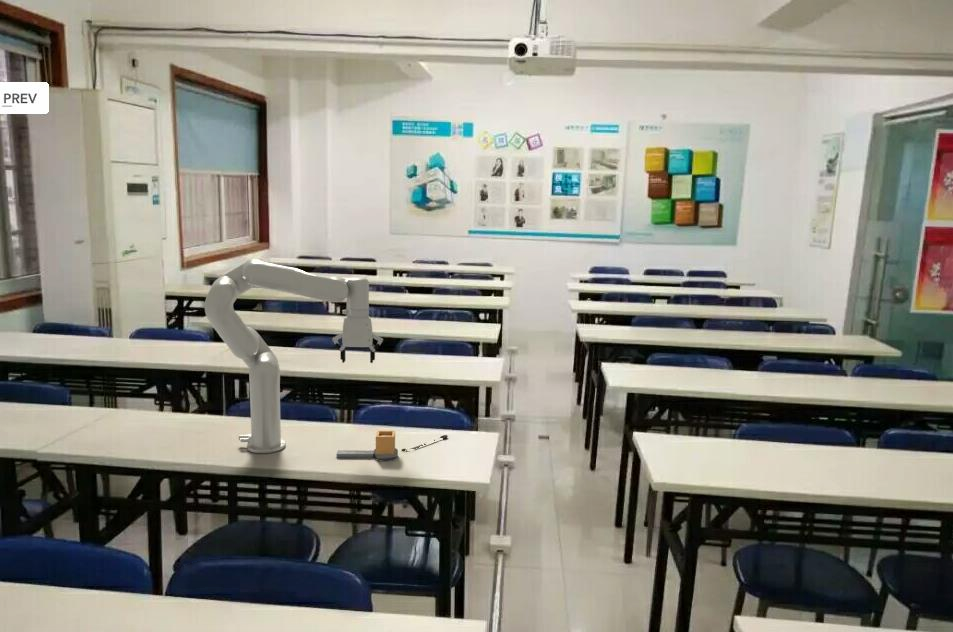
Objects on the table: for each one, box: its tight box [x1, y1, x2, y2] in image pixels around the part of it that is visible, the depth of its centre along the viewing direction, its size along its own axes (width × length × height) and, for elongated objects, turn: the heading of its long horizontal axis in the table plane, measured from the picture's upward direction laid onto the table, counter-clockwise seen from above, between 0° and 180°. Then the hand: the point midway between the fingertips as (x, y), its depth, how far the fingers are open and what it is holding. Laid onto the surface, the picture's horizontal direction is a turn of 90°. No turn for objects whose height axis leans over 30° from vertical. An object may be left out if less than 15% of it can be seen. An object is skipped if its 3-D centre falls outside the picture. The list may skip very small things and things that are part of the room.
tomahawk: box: [401, 434, 449, 452], centre depth 233 cm, size 21×7×1 cm, turn 137°
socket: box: [375, 429, 396, 454], centre depth 221 cm, size 6×6×6 cm
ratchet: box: [336, 435, 399, 462], centre depth 221 cm, size 20×8×7 cm, turn 94°
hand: (357, 361), depth 232 cm, fingers open, 9 cm apart
